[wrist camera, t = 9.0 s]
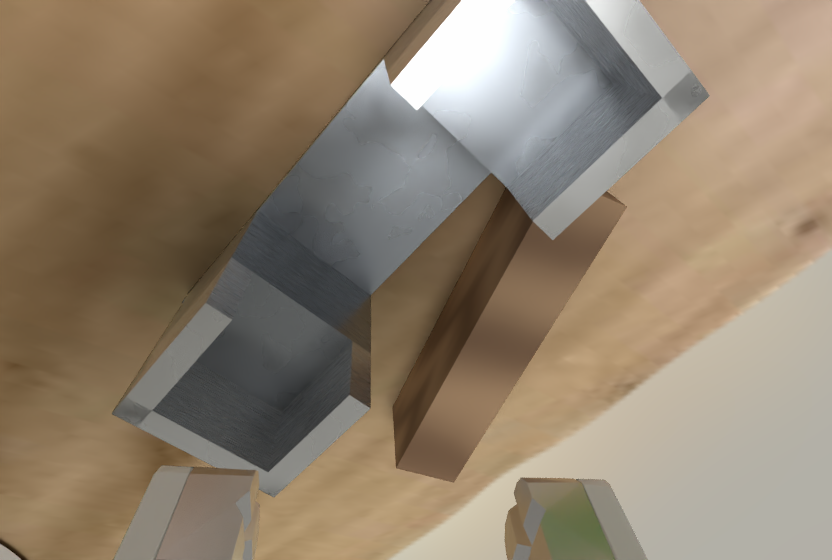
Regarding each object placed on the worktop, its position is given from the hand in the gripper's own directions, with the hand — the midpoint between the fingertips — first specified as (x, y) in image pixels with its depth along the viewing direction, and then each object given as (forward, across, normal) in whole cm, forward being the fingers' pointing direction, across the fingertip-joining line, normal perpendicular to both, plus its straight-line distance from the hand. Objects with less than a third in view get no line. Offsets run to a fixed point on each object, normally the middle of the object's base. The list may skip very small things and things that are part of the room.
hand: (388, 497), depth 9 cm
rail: (+19, -6, +6) cm, 21 cm away
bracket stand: (+18, 0, 0) cm, 18 cm away
